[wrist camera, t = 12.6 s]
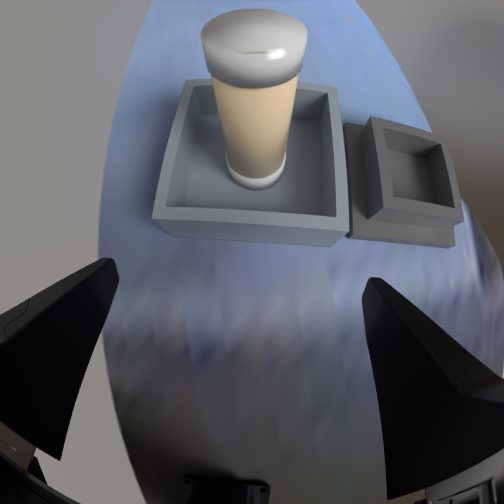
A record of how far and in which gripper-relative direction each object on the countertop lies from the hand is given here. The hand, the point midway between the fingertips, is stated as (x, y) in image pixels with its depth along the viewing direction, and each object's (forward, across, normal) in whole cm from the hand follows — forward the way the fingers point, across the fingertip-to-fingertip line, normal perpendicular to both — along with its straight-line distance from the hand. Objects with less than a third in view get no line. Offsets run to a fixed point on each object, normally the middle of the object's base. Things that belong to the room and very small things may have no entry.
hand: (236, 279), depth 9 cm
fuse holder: (+12, -11, 0) cm, 16 cm away
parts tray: (+12, 0, 0) cm, 12 cm away
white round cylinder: (+11, 0, -1) cm, 11 cm away
